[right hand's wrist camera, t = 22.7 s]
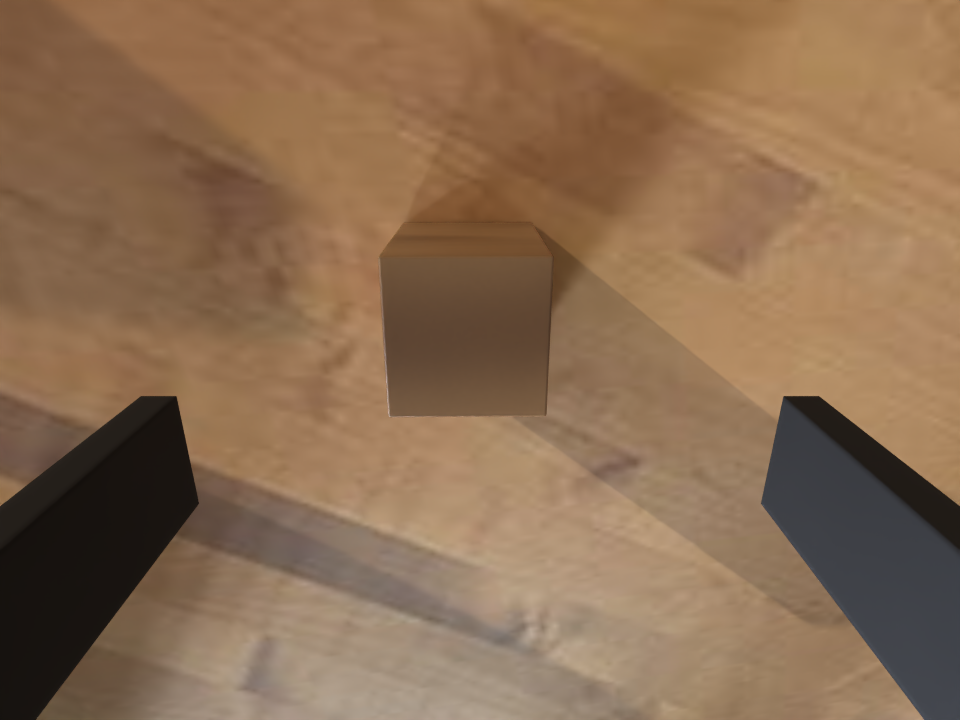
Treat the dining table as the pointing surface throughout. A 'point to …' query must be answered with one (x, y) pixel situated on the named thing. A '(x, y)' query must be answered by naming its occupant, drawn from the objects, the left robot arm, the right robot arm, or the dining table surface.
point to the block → (466, 319)
